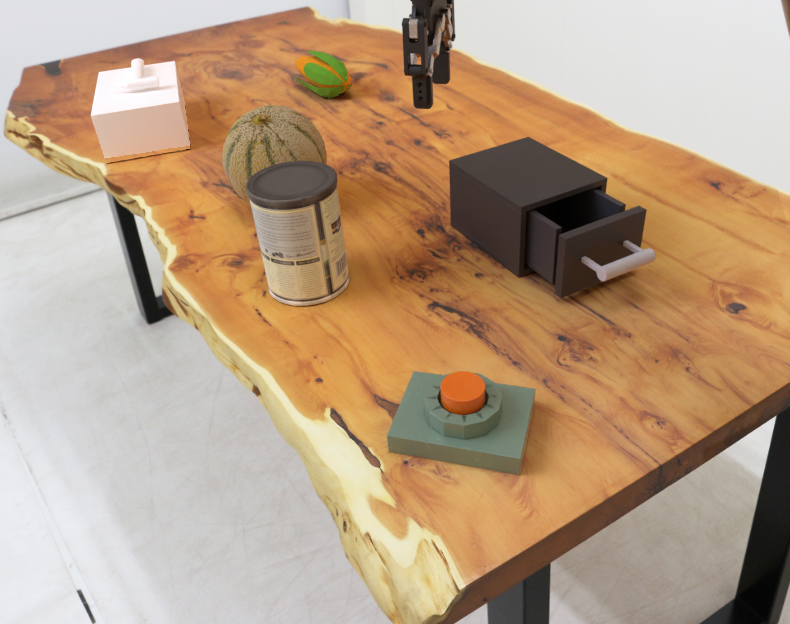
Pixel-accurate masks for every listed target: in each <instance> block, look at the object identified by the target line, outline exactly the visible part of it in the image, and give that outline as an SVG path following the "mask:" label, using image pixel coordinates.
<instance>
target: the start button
mask: <svg viewBox="0 0 790 624" xmlns="http://www.w3.org/2000/svg"><path fill="white" fill-rule="evenodd" d="M474 373H475V372H471V371H465V370H460V371H455V372H451V374H450V373H448V374H449V375H447V376H446V377H445V378H444V379H443V380H442V382H441V385H440V390H441V403H442V405H443V407H444V408H445V409H446V410H447V411H449V412H450V413H453V414H458V415H469V414H473V413H476V412H478V411H479V410H480V409H481V408H482V407H483V406H484V404H485V383H484V381H483V379H482V378H481V377H480V376H478V375H477V374H474Z"/></svg>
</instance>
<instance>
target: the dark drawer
mask: <svg viewBox="0 0 790 624" xmlns="http://www.w3.org/2000/svg"><path fill="white" fill-rule="evenodd" d="M626 206H627V204H626V203H625V202H623V201H620V200H619V199H617V198H615V197H614V196H611V195H610V194H608V193H607V192H606V193H604V192H602V191H600V190H599V189H597V188H593V189H590V190H587V191H584V192H581V193H578V194H576V195H573V196H570V197H567V198H564V199H561V200H558V201H555V202H552V203H549V204H546V205H543V206H541V207H538V208H535V209H532V210H529V211H526V234H525V256H524V263H525V264H526V265H527V266H529V267H530V268H531V269H533V270H534V272H536V273H537V274H538V275H539V276H541V277H542V278H544V279H545V280H546V281H548V282H549V283H550V284H552V285H553V284H554V295H555V296H556V297H558V298H559V299H564V298H566V297H568V296H570V295H573V294H577V293H578V292H581V291H584V290H586V289H588V288H591V287H593V286H596V285H598V284H601V283H603V282H606V281H609V280H611V279H614V278H616V277H619V276H621V275H624V274H627V273H629V272H631V271H634V270H636V269H639V268H642V267H643V266H646V265H649V264H651V263H653V262H654V261H656V258H657V256H656V252H655V251H654V250H653V249H652V248H651V247H648V248H645V249H643V248H642V242H643V236H644V229H645V223H646V218H647V217H646V216H647V209H646V208H645V207H643V206H641V205H637V206H634V207H632V208H631V207H630V208H628V209H626Z"/></svg>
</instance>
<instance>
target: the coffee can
mask: <svg viewBox="0 0 790 624" xmlns="http://www.w3.org/2000/svg"><path fill="white" fill-rule="evenodd" d="M337 184H338V174H337V172H336V170H335V169H334V168H333V167H332V166H330V165H329V164H328V163H327V164H324V163H320V162H315V161H290V162H284V163H279V164H276V165H272V166H269V167H267V168H265V169H262V170H260V171H258V172H257V173H255V174H254V175H253V176H251V177H250V178H249V180H248V181H247V183H246V191H247V194H248V196H249V200H250V204H249V205H250V208H251V213H252V217H253V222H254V225H255V231H256V235H257V241H258V246H259V249H260V255H261V258H262V264H263V268H264V272H265V278H266V282H267V290H268V293H269V295H270V296H271V297H272V298H273V299H274V300H276V301H277V302H279V303H281V304H284V305H287V306H293V307H294V306H295V307H308V306H315V305H319V304H323V303H327V302H329V301H330V300H334V299H335V298H337V297H338V296H340V295H341V294H342V293H343V292H344V291H345V290H346V289H347V288H348V286H349V284H350V279H351V276H350V275H351V274H350V271H349V265H348V257H347V249H346V243H345V236H344V235H345V234H344V228H343V221H342V214H341V213H342V212H341V206H340V199H339V191H338V185H337Z"/></svg>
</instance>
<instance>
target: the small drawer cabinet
mask: <svg viewBox="0 0 790 624" xmlns="http://www.w3.org/2000/svg"><path fill="white" fill-rule="evenodd" d="M448 169H449V172H448V173H449V174H448V175H449V208H450V211H449V212H450V226H451V227H453V229H455V230H456V231H457V232H459V233H460V234H461V235H463V236H464V237H465V238H466V239H468V240H469V241H470V242H472V243H473V244H475V245H476V246H477V247H478V248H480V249H481V250H482V251H483V252H485V253H486V254H488V255H489V256H490V257H491V258H493V259H494V260H495V261H496V262H498V263H499V264H500V265H502V266H503V267H505V269H507V270H508V271H510V272H511V273H512V274H513V275H514V276H516V277H517V278H521V277H524V276H526V275H528V274H531V273H535V271H534V270H533V269H531V268H530V267H529V266H527V265H526V264H525V263H524V256H525V234H526V211H529V210H532V209H535V208H538V207H541V206H543V205H546V204H549V203H552V202H555V201H558V200H561V199H564V198H567V197H570V196H573V195H576V194H578V193H581V192H584V191H587V190H590V189H593V188H597V189H599V190H600V191H602V192H604V193H606V194H607V188H608V187H607V185H608V177H607V176H605V175H604V174H601V173H599V172H598V171H595V170H593V169H592V168H590V167H588V166H585V165H584V164H582V163H580V162H578V161H577V160H574V159H572V158H571V157H569V156H567V155H564V154H563V153H561V152H559V151H557V150H555V149H553V148H551V147H549V146H547V145H545V144H543V143H542V142H539V141H537V140H535V139H534V138H532V137H530V136H526V137H522V138H519V139H516V140H512V141H509V142H506V143H502V144H499V145H496V146H493V147H489V148H486V149H483V150H479V151H476V152H473V153H470V154H469V153H468V154H466V155H465V154H464V155H462V156H459V157H456V158H451V159H449V160H448Z"/></svg>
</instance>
